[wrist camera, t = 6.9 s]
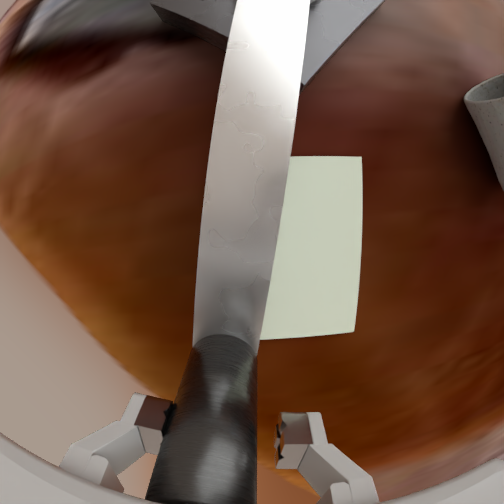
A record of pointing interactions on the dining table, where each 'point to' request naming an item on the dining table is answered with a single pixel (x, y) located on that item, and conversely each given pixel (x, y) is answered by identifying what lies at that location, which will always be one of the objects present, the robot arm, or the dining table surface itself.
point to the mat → (317, 250)
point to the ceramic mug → (490, 118)
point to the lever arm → (235, 260)
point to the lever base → (317, 36)
